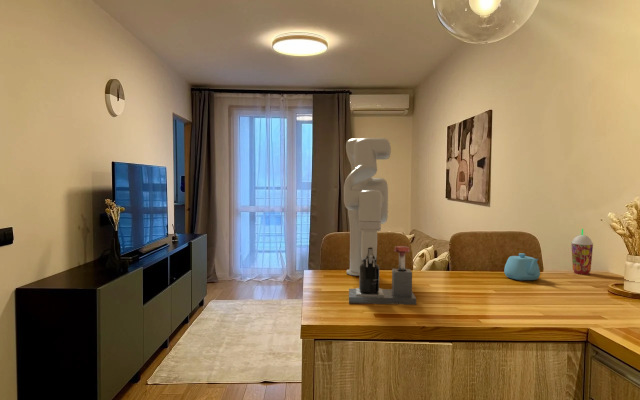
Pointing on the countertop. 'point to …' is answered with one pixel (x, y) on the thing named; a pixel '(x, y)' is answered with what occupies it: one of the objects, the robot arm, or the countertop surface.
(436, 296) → the countertop surface
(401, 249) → the plunger
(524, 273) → the teapot
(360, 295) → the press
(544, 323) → the countertop surface
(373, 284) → the supplement bottle
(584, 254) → the smoothie
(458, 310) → the countertop surface
